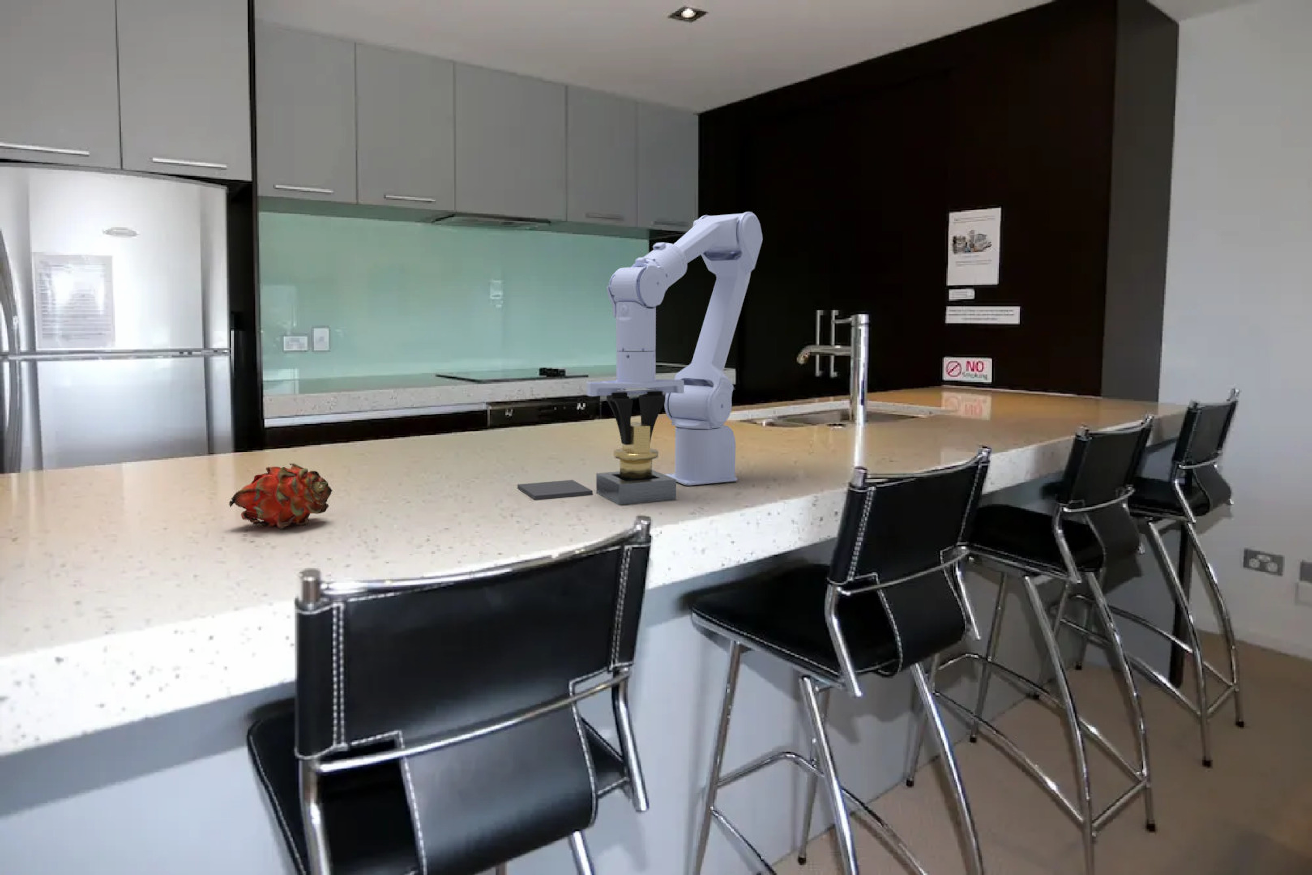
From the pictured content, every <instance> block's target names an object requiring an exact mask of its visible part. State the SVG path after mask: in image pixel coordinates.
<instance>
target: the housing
mask: <svg viewBox="0 0 1312 875" xmlns="http://www.w3.org/2000/svg"><path fill="white" fill-rule="evenodd" d="M595 476H596V480H595V481H596V482H595V483H596V484H595V485H596V486H595V487H596V488H595V489H596V490H595V491H596V494H598V495H600V496H602V497H603V498H604V499H605V498H606V500H607V499H608V500H609V501H611V502H612V503H615V504H616V505H619V506H622V505H623V506H625V505H634V504H646V503H654V502H665V501H675V500H677V482H676V479H674V478H671V477H669V476H666V474H664V473H662V472H659V471H656V470H653V469H652V476H650V477H646V478H626V477H622V476H620V470H619V471H609V472H608V471H607V472H598V473H596V475H595Z"/></svg>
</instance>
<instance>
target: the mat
mask: <svg viewBox="0 0 1312 875" xmlns="http://www.w3.org/2000/svg"><path fill="white" fill-rule="evenodd" d="M517 490H520V492H523V493H524V494H525V495H527V496H528V497H530V499H533V500H534V501H538V500H546V499H547V500H548V499H558V498H560V499H561V498H569V497H582V496H590V495H591V496H592V495H593V494H594V493H593V492H594V491H593V490H592V489H590V488H589V487H587V486H584V485H583V484H581V483H579V482H577V481H576V480H574V479H565V480H556V481H543V482H533V483H532V482H531V483H530V482H529V483H518V484H517Z"/></svg>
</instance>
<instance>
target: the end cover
mask: <svg viewBox="0 0 1312 875" xmlns="http://www.w3.org/2000/svg"><path fill="white" fill-rule="evenodd" d="M621 444H622V443H621ZM621 446H622V447H621V448H616V449H614V450H613V458H614V459H618V460H619V471H620V476H622V477H626V478H646V477H650V476H652V470H653V460H655V459H657V458H659V450H658V449H657V448H652V447H651V441H650V426H649V425H646V424H643V423H641V421H640V422H639V421H631V442H630V445H625V444H622V445H621Z"/></svg>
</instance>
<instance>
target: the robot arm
mask: <svg viewBox="0 0 1312 875" xmlns="http://www.w3.org/2000/svg"><path fill="white" fill-rule="evenodd" d="M762 243H763V233H762V227H761V223H760V220H759V219H758V217H757V215H756V214H755V213H753V211H745V212H743V213H731V214H720V215H719V214H718V215H708V214H705V215H702V216H701V217H699V218H698V219H696V220H694V221H693V223H692V227H691V228H690V229H689V230H688V231H686V233H685V234H683V235H682V236H681V237H680V238H679V239H678V240H677V241H676V242H674V243H669V242H663V241H662V242H656V243H654V244H653V246H652V248H653V250H651V251H650V252H648V253H647V254H646V255H644V256H643V257H637V258H636V259H635V260H634V263H633V264H632V266H629V267H620V268H618V269H617V270H615V272H614V273H612V275H611V276H610V279H609V282H608V286H606V293H607V297H608V299H609V301H610V303H611V305H612V315H613V317H614V319H615V326H616V328H615V329H616V330H615V333H616V334H615V335H616V336H615V338H616V339H615V343H616V346H615V347H616V349H615V351H616V353H615V354H616V358H615V360H616V364H615V365H616V369H615V370H616V371H615V372H616V373H615V374H616V379H615V380H604V381H603V380H600V381H586V396H588V397H598V396H606V401H607V404H608V405H609V407H610V409H611V411H612V413H613V416H614V419H615V422H616V425H617V427H618V432H619V436H620V441H621V444H625V445H630V442H631V422H632V410H633V404H634V400H633V399H632V398H630V396H628V395H638V401H639V408H640V409H639V412H640V423H643V424H646V425H649V426H650V442H651V441H652V437H653V436H652V435H653V432H654V427H655V426H656V421H657V418H658V417H659V414H660V412H661V410H662V409H663V407H664V411H665V414H666V416H667V418H668V419H669V420H670V421H671V426H675V430H674V431H675V432H674V433H675V434H674V437H675V439H674V473H666V474H665V475H666V476H669V477H671V478H674V479H676V483H678V484H682V485H685V486H696V485H698V486H699V485H706V484H707V485H709V484H719V483H729V482H737V481H738V478H737V477H736V450H737V448H736V447H737V446H736V445H737V444H736V436H735V434H734V431H733V429H732V428H731V427H730V426H729V425H725V423H726V422H727V420H728V419H729V417H730V415H731V413H732V406H733V404H732V397H733V391H734V385H733V383H732V381H731V379H730V378H729V377H728V376H727V375H726V373H724V369H725V366H726V363H727V358H728V355H729V352H730V349H731V345H732V342H733V338H734V335H735V331H736V328H737V324H738V321H739V317H740V315H741V311H742V307H743V303H744V301H745V300H744V299H745V296H746V293H747V290H748V287H749V286H748V285H749V284H750V278H751V275H752V274H751V273H752V271H753V270H755V269H756V265H757V260H758V257H759V254H760V250H761V247H762ZM700 256H701V257H702V259H703V261H704V263H705V265H706V268H707V270H708V271H709V272H711V273H712V274H714V275H715V277H716V280H715V282H714V286H713V291H712V293H711V296H710V299H709V303H708V306H707V310H706V313H705V316H704V320H703V322H702V326H701V331H700V333H699V337H698V340H697V342H696V347H695V350H694V353H693V358H692V360H691V362H690V363H689V364H688V365H687V366H685V367H684V368H682V369H681V370H680V371H678V372H677V373H676V374H675V376H674V379H656V369H657V368H656V364H657V363H656V348H657V347H656V346H657V345H656V342H657V341H656V339H657V337H656V336H657V334H656V331H657V329H656V328H657V326H656V324H657V323H656V321H657V319H656V318H657V316H656V315H657V313H656V312H657V310H656V308H657V306H660V305H661V304H662V302H663V300H664V297H665V294H666V292H667V290H668V288H669V287H671V286H672V285H673V284H675V283H676V282H677V281H678V280H679V279H681V278H682V277H683V276H684V275H685V274H686V273H687V270H688V263H690V262H691V261H693V260H694V259H696V258H697V257H700ZM627 389H640V390H627ZM642 389H644V390H642ZM664 394H665V395H664Z"/></svg>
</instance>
